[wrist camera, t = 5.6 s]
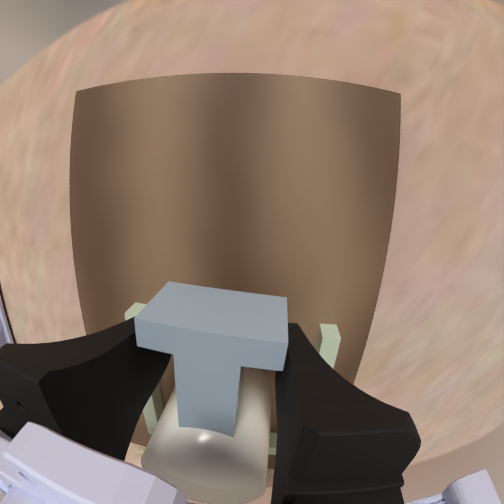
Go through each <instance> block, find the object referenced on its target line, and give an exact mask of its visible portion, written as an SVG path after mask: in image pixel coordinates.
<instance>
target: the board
mask: <svg viewBox="0 0 504 504" xmlns="http://www.w3.org/2000/svg"><path fill="white" fill-rule="evenodd" d="M400 116H401V94H400V93H396V92H392V91H387V90H383V89H378V88H374V87H369V86H364V85H359V84H353V83H347V82H341V81H335V80H328V79H320V78H312V77H302V76H292V75H278V74H259V73H207V74H187V75H174V76H163V77H154V78H146V79H138V80H132V81H125V82H119V83H113V84H108V85H103V86H98V87H93V88H88V89H84V90H80V91H76V96H75V104H74V113H73V122H72V134H71V150H70V218H71V234H72V246H73V257H74V265H75V273H76V281H77V288H78V294H79V300H80V306H81V311H82V317H83V322H84V327H85V331H86V335H90V334H93V333H96V332H99V331H102V330H104V329H107V328H109V327H112V326H114V325H117V324H119V323H121V322H124V321H125V314H124V313H125V312H126V311H127V310H128V309H129V308H130V307H131V306H132V305H133V304H134V303H135V302H136V303H142V304H148V303H149V302H150V301H151V299H152V298H153V297H154V296H155V295H156V294H157V293H158V292H159V291H160V290H161V289H162V288H163V287H164V286H165V285H166V284H167V283H168V282H169V281H170V282H177V283H183V284H190V285H197V286H204V287H211V288H218V289H225V290H232V291H240V292H248V293H255V294H263V295H272V296H280V297H287V314H288V323H298V325H299V326H300V327H301V329H302V331H303V332H304V334H305V335H306V337H307V338H308V340H309V341H310V343H311V344H312V345H313V347H314V348H315V345H316V340H317V335H318V330H319V324H334V325H337V327H338V331H339V334H340V337H341V340H340V345H339V349H338V353H337V357H336V360H335V364H334V368H333V369H334V370H335V371H336V372H337V373H339V374H340V375H341V376H342V377H343V378H344V379H346V380H347V381H348V382H350V383H351V384H353V383H354V380H355V377H356V374H357V371H358V368H359V365H360V362H361V359H362V355H363V352H364V349H365V345H366V342H367V338H368V334H369V331H370V327H371V323H372V319H373V315H374V311H375V307H376V303H377V299H378V295H379V290H380V286H381V281H382V276H383V271H384V266H385V261H386V255H387V250H388V244H389V238H390V232H391V225H392V218H393V210H394V202H395V194H396V184H397V173H398V161H399V145H400ZM262 370H263V371H264V372H265V374H266V375H267V376H268V378H269V380H270V382H271V385H272V391H273V393H272V409H271V425H270V433H277V417H276V398H275V374H276V370H267V369H262ZM159 386H160V392H161V398H162V403H163V409H164V408H165V406H166V404H167V402H168V400H169V398H170V396H171V394H172V391H173V389H174V387H175V372H174V354H172V355H171V358H170V361H169V363H168V366H167V368H166V370H165V372H164V374H163V376H162V377H161V379H160V381H159ZM151 436H152V434H149V433H148V429H147V425H146V422H145V418H144V414H143V411H142V413H141V415H140V418H139V420H138V423H137V425H136V428H135V430H134V433H133V436H132V439H131V442H132V443H135V444H139V445H142V446H145V447H147V445H148V443H149V440H150V438H151ZM275 457H276V455H271V454H268V465H267V468H271V469H275Z"/></svg>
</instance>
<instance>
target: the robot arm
mask: <svg viewBox="0 0 504 504" xmlns="http://www.w3.org/2000/svg"><path fill="white" fill-rule="evenodd" d="M135 317H136V316H135ZM135 317H132V318H130V319H128V320H126V321H124V322H121V323H119V324H117V325H114V326H112V327H109V328H107V329H104V330H102V331H99V332H96V333H93V334H90V335H86V336H83V337H79V338H74V339H69V340H64V341H59V342H51V343H40V344H14V341H13V338H12V335H11V332H10V328H9V325H8V322H7V318H6V315H5V311H4V307H3V303H2V299H1V295H0V400H1V402H2V404H3V406H4V407H3V408H2V409H1V410H0V492H1V493H2V494H3V495H4V496H5V497H4V498H3V500H2V501H1V503H0V504H194V503H189V502H187V500H186V498H185V497H184V496H183V495H182V494H181V492H180V491H179V490H178V489H177V488H176V486H175V485H173V484H171V483H170V482H168V481H166V480H165V479H163V478H161V477H160V476H158V475H157V474H155V473H152V472H150V471H147V470H145V469H143V468H140V467H138V466H136V465H133V464H131V463H128V462H125V461H124V460H125V457H126V453H127V450H128V447H129V444H130V442H131V439H132V436H133V433H134V430H135V428H136V425H137V423H138V420H139V418H140V415H141V413H142V411H143V409H144V407H145V405H146V404H147V402H148V400H149V398H150V397H151V395H152V393H153V391H154V390H155V388H156V386H157V385H158V383H159V381H160V379H161V377H162V376H163V374H164V372H165V370H166V368H167V366H168V363H169V361H170V358H171V355H172V354H169V353H165V352H160V351H156V350H151V349H147V348H143V347H139V346H137V341H136V332H135V322H134V318H135ZM275 398H276V417H277V444H276V457H275V469H274V479H273V489H272V498H271V504H501V502H500V500H499V498H498V495H497V493H496V490H495V488H494V486H493V484H492V482H491V479H490V477H489V475H488V473H487V471H486V469H482V470H479V471H476V472H474V473H471V474H468V475H465V476H463V477H460V478H458V479H457V480H455V481H453V482H452V483H451V484H450V485H449V486H448V487H447V488H446V489H445V490H444V492H443V493H440V494H436V495H433V496H429V497H426V498H422V499H418V500H414V501H410V502H405V503H404V501H403V497H402V493H401V489H400V487H402V486H403V485H404V480H403V476H402V473H403V471H404V470H405V469H406V467H407V466H408V465H409V464H410V462H411V461H412V460H413V458H414V457H415V456H416V454H417V452H418V450H419V448H420V445H421V439H420V437H419V434H418V432H417V429H416V426H415V424H414V422H413V420H412V418H411V416H410V414H409V412H406V411H403V410H401V409H398V408H396V407H393V406H391V405H388V404H386V403H384V402H381V401H379V400H378V399H376V398H374V397H372V396H370V395H368V394H366V393H365V392H363V391H361V390H360V389H358V388H357V387H356V386H354V385H353V384H351V383H350V382H348V381H347V380H346V379H344V378H343V377H342V376H341V375H340V374H339V373H337V372H336V371H335V370H334V369H333V368H332V367H331V366H330V365H329V364H328V363H327V362H326V361H325V360H324V359H323V358H322V357H321V355H320V354H319V353H318V352H317V350H316V349H315V348H314V347H313V345H312V344H311V343H310V341H309V340H308V338H307V337H306V335H305V334H304V332H303V331H302V329H301V327H300V326H299V325H298V323H288V347H287V352H286V358H285V363H284V367H283V371H276V374H275Z"/></svg>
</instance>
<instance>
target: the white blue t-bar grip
mask: <svg viewBox="0 0 504 504" xmlns="http://www.w3.org/2000/svg"><path fill="white" fill-rule="evenodd" d="M134 322H135V332H136V341H137V346H139V347H143V348H147V349H151V350H156V351H160V352H165V353H169V354H174V372H175V387H174V389H173V391H172V394H171V396H170V398H169V400H168V402H167V404H166V406H165V408H164V411H163V413H162V415H161V417H160V419H159V421H158V423H157V425H156V428H155V430H154V432H153V434H152V436H151V438H150V440H149V443H148V445H147V447H146V449H145V451H144V453H143V456H142V458H141V464H142V467H143V469H145V470H147V471H150V472H152V473H155V474H157V475H158V476H160V477H161V478H163V479H165V480H166V481H168V482H170V483H171V484H173V485H175V486H176V488H177V489H178V490H179V491H180V492H181V494H182V495H183V496H184V497H185V498H187V499H190V500H194V501H198V502H202V503H208V504H243V503H247V502H251V501H253V500H255V499H257V498H259V497H260V496H261V495H262V494H263V493H264V491H265V488H266V478H267V465H268V453H269V439H270V425H271V409H272V393H273V391H272V385H271V382H270V380H269V378H268V376H267V375H266V374H265V372H264V371H263V370H262V369H267V370H276V371H283V367H284V363H285V358H286V352H287V347H288V314H287V297H280V296H272V295H263V294H255V293H248V292H240V291H232V290H225V289H218V288H211V287H204V286H197V285H190V284H183V283H177V282H170V281H169V282H168V283H167V284H166V285H165V286H164V287H163V288H162V289H161V290H160V291H159V292H158V293H157V294H156V295H155V296H154V297H153V298H152V299H151V301H150V302H149V303H148V304H147V305H146V306H145V307H144V308H143V309H142V310H141V311H140V312H139V313H138V314H137V316H136V317H135V318H134Z"/></svg>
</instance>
